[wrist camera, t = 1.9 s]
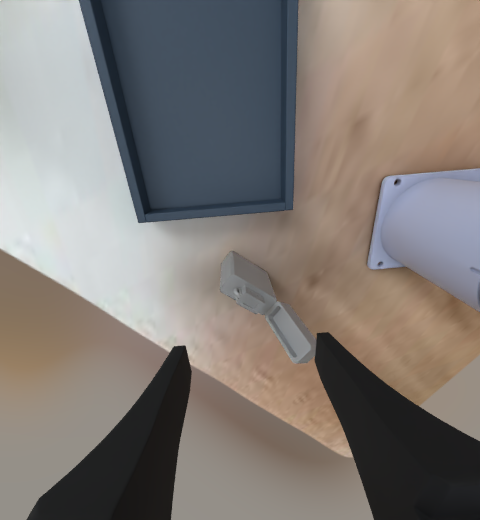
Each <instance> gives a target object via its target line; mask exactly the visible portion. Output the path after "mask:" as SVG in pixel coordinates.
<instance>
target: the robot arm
mask: <svg viewBox="0 0 480 520" xmlns="http://www.w3.org/2000/svg"><path fill="white" fill-rule="evenodd" d="M396 179H397V184H396V185H394V182H395V180H396ZM379 262H380V264H379V265H377V264H378V263H379ZM367 266H368V267H369V268H370V269H385V268H396V267H408V268H409V269H411V270H412V271H414V272H416V273H417V274H419V275H420V276H422V277H424V278H425V279H427V280H429V281H430V282H432V283H433V284H435V285H437V286H438V287H440V288H441V289H443V290H445V291H446V292H448V293H450V294H451V295H453V296H454V297H456V298H458V299H459V300H461V301H462V302H464V303H466V304H467V305H469V306H471V307H472V308H474V309H475V310H477V311H479V312H480V168H477V169H465V170H453V171H441V172H429V173H417V174H405V175H393V176H387V177H385V178H384V180H383V181H382V185H381V190H380V196H379V201H378V207H377V212H376V218H375V223H374V229H373V234H372V240H371V246H370V251H369V257H368V262H367ZM315 363H316V366H317V369H318V372H319V375H320V378H321V381H322V383H323V385H324V388H325V390H326V392H327V394H328V396H329V399H330V401H331V403H332V405H333V407H334V410H335V412H336V414H337V416H338V418H339V420H340V423H341V425H342V427H343V430H344V432H345V435H346V438H347V440H348V443H349V446H350V449H351V451H352V454H353V457H354V460H355V463H356V466H357V469H358V472H359V475H360V477H361V480H362V483H363V486H364V490H365V492H366V496H367V499H368V502H369V505H370V508H371V511H372V514H373V518H374V520H480V441H478V440H476V439H474V438H472V437H470V436H468V435H467V434H465V433H462V432H461V431H459V430H457V429H456V428H454V427H452V426H450V425H449V424H447V423H445V422H443V421H441V420H440V419H438V418H437V417H435V416H433V415H432V414H430V413H428V412H427V411H425V410H424V409H422V408H421V407H419V406H417V405H416V404H414V403H413V402H411V401H410V400H408V399H407V398H405V397H404V396H402V395H401V394H400V393H398V392H397V391H396V390H394V389H393V388H391V387H390V386H389V385H387V384H386V383H385V382H383V381H382V380H381V379H380V378H378V377H377V376H376V375H375V374H373V373H372V372H371V371H370V370H369V369H367V368H366V367H365V366H364V365H363V364H362V363H361V362H359V361H358V360H357V359H356V358H355V357H354V356H353V355H352V354H351V353H350V352H348V351H347V350H346V349H345V348H344V347H343V346H342V345H341V344H340V343H339V342H338V341H337V340H336V339H335V338H334V337H333V336H332V335H331V334H330V333H329V332H326V333H317V340H316V351H315ZM190 383H191V367H190V363H189V359H188V354H187V350H186V346H174V347H173V348H172V350H171V352H170V353H169V355H168V357H167V358H166V360H165V361H164V363H163V365H162V366H161V368H160V369H159V371H158V372H157V374H156V375H155V377H154V378H153V380H152V381H151V383H150V384H149V385H148V387H147V388H146V390H145V391H144V392H143V394H142V395H141V396H140V398H139V399H138V400H137V402H136V403H135V404H134V405H133V407H132V408H131V409H130V410H129V412H128V413H127V414H126V415H125V416H124V417H123V419H122V420H121V421H120V422H119V423H118V424H117V425H116V426H115V427H114V429H113V430H112V431H111V432H110V433H109V434H108V435H107V436H106V437H105V438H104V439H103V440H102V441H101V443H99V444H98V445H97V446H96V447H95V449H93V450H92V451H91V452H90V453H89V454H88V455H87V456H86V457H85V458H84V459H83V460H82V461H81V462H80V463H79V464H78V465H77V466H76V467H75V468H74V469H72V470H71V471H70V472H69V473H68V474H67V475H66V476H65V477H63V478H62V479H61V480H60V481H59V482H58V483H56V485H54V486H53V487H52V488H51V489H50V490H48V492H46V493H45V494H44V495H43V496H41V497H40V498H39V500H38V501H37V503H36V505H35V506H34V508H33V509H32V511H31V513H30V514H29V517H28V518H27V520H171V511H172V501H173V491H174V482H175V473H176V465H177V457H178V449H179V443H180V437H181V433H182V427H183V423H184V418H185V413H186V408H187V403H188V398H189V393H190Z"/></svg>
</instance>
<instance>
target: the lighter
mask: <svg viewBox="0 0 480 520" xmlns="http://www.w3.org/2000/svg"><path fill="white" fill-rule="evenodd" d="M220 291H221V292H222V293H223V294H225V295H227V296H229V297H231V298H232V299H234V300H236V301H237V304H238V305H240V306H242V307H244V308H245V309H247V310H249V311H251V312H253V313H254V314H258V313H260V314H261V315H265V319H266V320H267V322H268V323H269V325H270V327H271V328H272V330H273V331H274V333H275V335H276V336H277V338H278V339H279V341H280V343H281V344H282V346H283V347H284V349H285V351H286V352H287V354H288V355H289V357H290V359H291V360H292V362H293V363H308V362H309V361H310V360H311V359H312V358H313V357H314V356H315V351H316V339H315V337H314V336H313V335H312V334H311V332H310V331H309V330H308V328H307V327H306V326H305V324H304V323H303V322H302V320H301V319H300V318H299V316H298V315H297V314H296V312H295V311H294V310H293V308H292V307H291V306H290V305H289V304H286V303H282V302H277V300H276V297H275V294H274V291H273V288H272V285H271V282H270V279H269V276H268V274H267V272H266V271H264V270H263V269H261V268H259V267H258V266H256V265H255V264H253V263H251V262H250V261H248V260H247V259H245V258H243V257H242V256H240V255H239V254H237V253H235V252H234V251H230V252H229V254H228V255H227V256H226V258H225V259H224V260H223V262H222V263H221V281H220Z"/></svg>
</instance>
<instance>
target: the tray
mask: <svg viewBox="0 0 480 520" xmlns="http://www.w3.org/2000/svg"><path fill="white" fill-rule="evenodd" d="M79 3H80V6H81V10H82V14H83V18H84V21H85V25H86V29H87V33H88V36H89V40H90V44H91V47H92V51H93V55H94V59H95V62H96V66H97V70H98V74H99V77H100V81H101V85H102V89H103V92H104V96H105V100H106V103H107V107H108V111H109V115H110V118H111V122H112V126H113V130H114V133H115V137H116V141H117V144H118V148H119V152H120V156H121V159H122V163H123V167H124V171H125V174H126V178H127V182H128V186H129V189H130V193H131V197H132V200H133V204H134V208H135V212H136V215H137V219H138V222H139V223H145V222H157V221H169V220H181V219H192V218H204V217H216V216H227V215H239V214H251V213H263V212H274V211H284V210H293V194H294V155H295V115H296V76H297V37H298V0H79Z"/></svg>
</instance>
